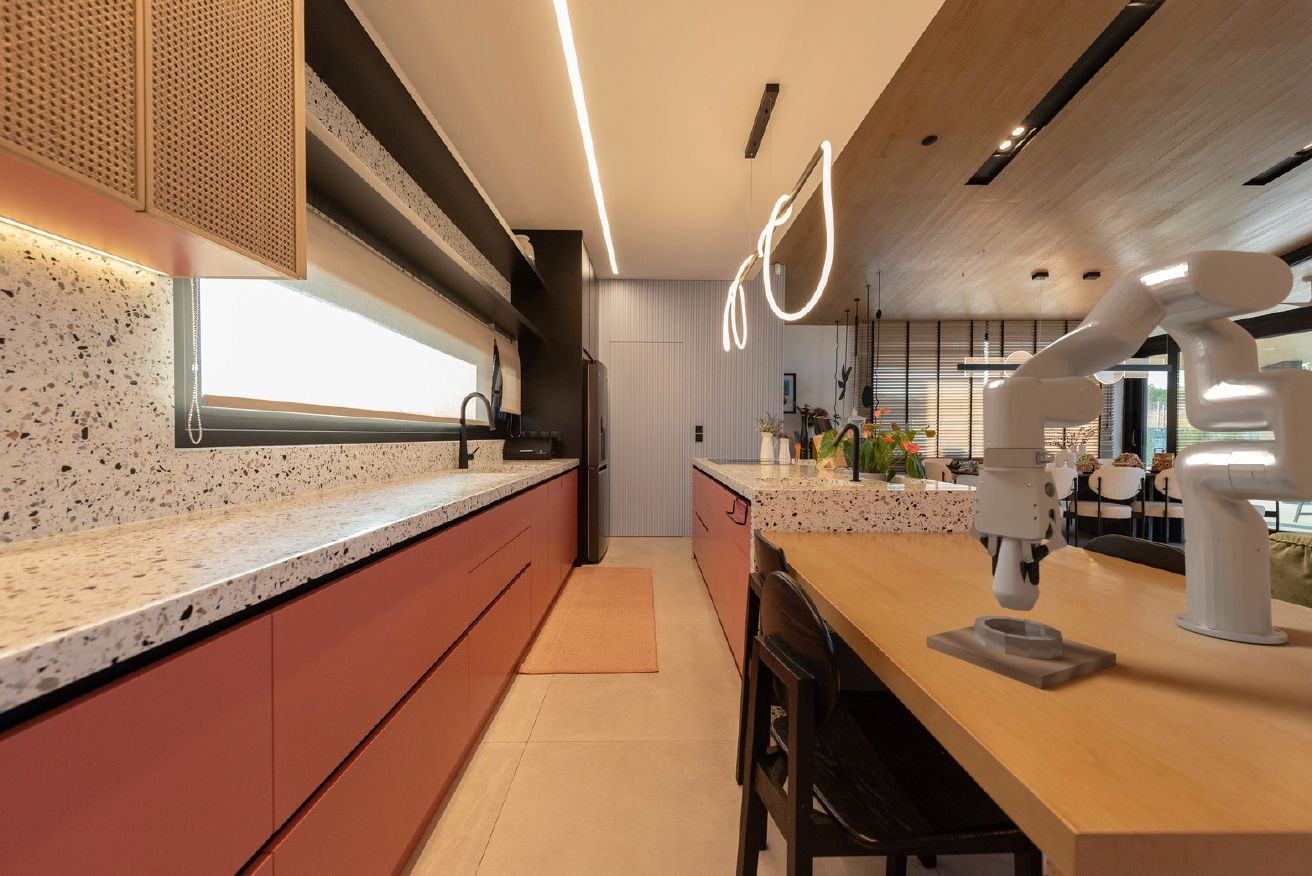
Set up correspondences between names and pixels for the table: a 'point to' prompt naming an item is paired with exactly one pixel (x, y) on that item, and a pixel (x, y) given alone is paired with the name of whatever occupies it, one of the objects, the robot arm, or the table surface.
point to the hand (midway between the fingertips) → (1015, 584)
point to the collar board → (1022, 665)
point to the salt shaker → (1013, 578)
